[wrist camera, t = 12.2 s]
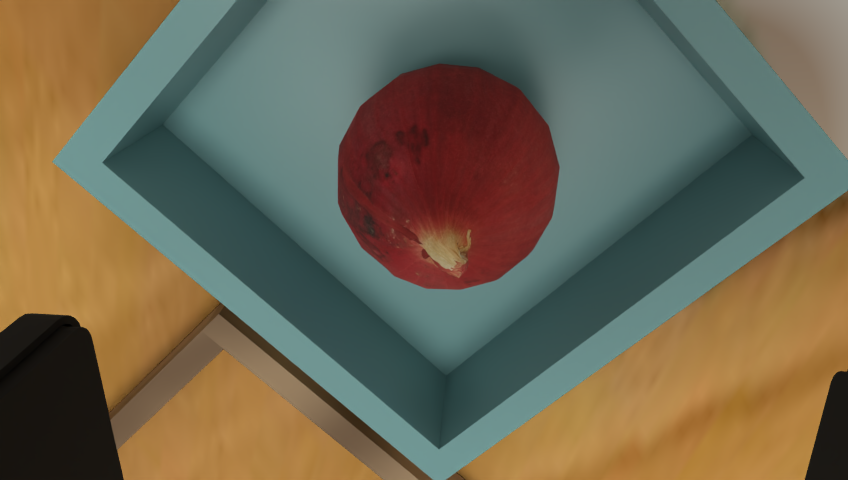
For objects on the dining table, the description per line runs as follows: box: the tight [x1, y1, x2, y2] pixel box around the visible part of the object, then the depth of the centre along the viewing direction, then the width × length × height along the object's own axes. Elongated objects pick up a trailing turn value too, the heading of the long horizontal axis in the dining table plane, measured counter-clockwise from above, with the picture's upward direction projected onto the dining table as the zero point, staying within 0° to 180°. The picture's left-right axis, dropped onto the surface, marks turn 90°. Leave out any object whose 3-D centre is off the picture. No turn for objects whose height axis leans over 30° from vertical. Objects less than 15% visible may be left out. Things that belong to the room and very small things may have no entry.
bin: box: [52, 0, 848, 480], centre depth 21 cm, size 15×15×5 cm
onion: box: [338, 63, 560, 290], centre depth 19 cm, size 6×6×8 cm
